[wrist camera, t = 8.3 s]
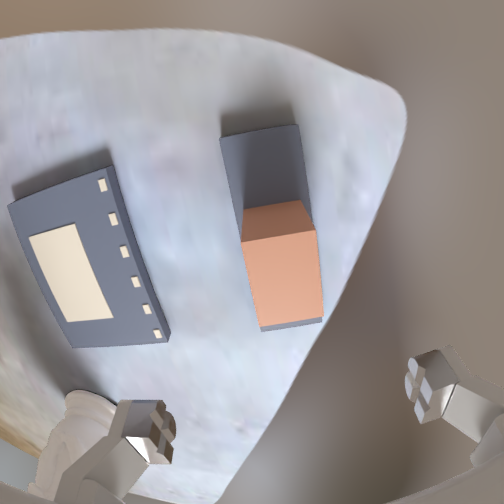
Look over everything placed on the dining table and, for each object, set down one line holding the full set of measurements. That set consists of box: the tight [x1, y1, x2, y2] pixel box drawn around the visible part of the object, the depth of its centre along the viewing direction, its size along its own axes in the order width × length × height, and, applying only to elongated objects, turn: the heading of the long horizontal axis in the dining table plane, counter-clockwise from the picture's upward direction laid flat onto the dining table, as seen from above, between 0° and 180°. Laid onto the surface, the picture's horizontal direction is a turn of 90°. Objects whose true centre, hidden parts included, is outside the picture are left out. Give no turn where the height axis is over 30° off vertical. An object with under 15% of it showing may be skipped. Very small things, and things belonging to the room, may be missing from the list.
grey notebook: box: [7, 165, 171, 348], centre depth 22 cm, size 10×14×1 cm
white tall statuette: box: [27, 390, 117, 501], centre depth 22 cm, size 12×12×22 cm
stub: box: [219, 124, 324, 332], centre depth 18 cm, size 5×14×6 cm, turn 11°
